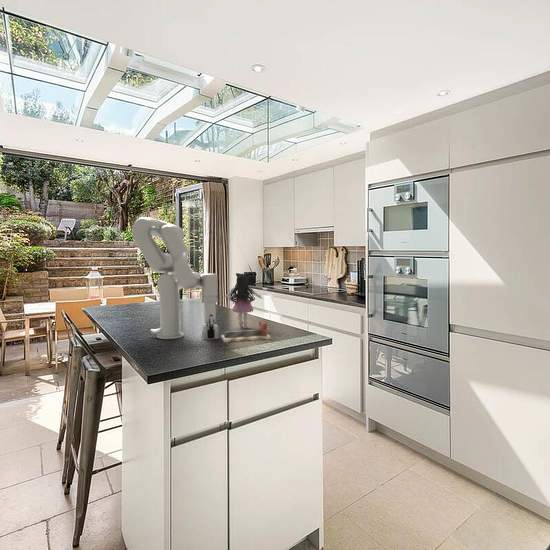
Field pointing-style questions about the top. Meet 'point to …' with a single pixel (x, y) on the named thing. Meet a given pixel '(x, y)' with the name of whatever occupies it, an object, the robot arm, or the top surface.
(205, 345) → the top surface
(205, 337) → the lock block
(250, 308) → the figurine
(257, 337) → the board
